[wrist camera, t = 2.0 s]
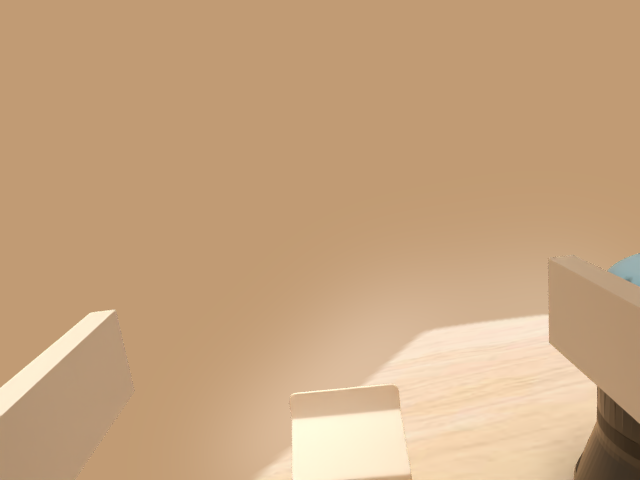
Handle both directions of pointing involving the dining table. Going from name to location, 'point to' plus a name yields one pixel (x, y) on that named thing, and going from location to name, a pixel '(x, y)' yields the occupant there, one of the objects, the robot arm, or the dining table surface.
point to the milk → (349, 435)
